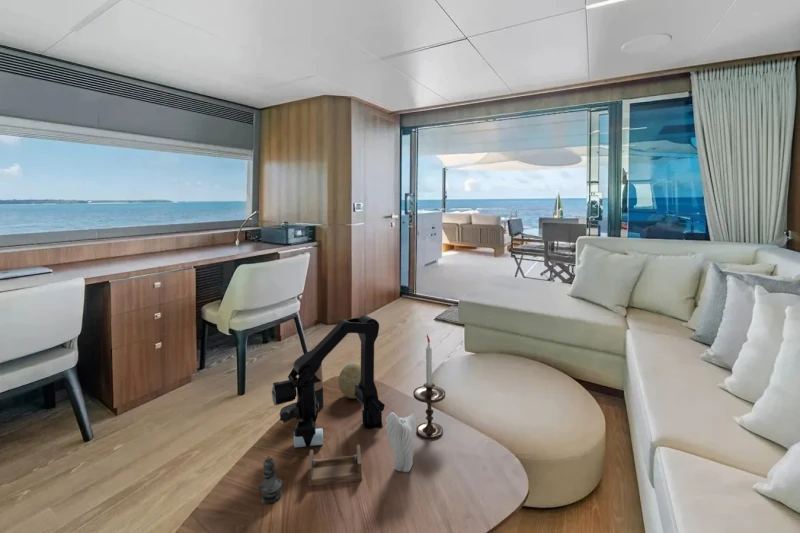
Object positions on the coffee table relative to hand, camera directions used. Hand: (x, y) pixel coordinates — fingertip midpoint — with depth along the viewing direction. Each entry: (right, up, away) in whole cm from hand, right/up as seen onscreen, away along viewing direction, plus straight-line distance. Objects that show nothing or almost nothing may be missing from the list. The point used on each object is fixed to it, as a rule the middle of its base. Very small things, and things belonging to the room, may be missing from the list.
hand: (308, 440), depth 127 cm
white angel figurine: (+31, -3, -12) cm, 34 cm away
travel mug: (-4, +2, +25) cm, 25 cm away
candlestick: (+41, 0, +6) cm, 41 cm away
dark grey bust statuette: (-4, -5, -23) cm, 24 cm away
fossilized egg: (+11, +3, +33) cm, 35 cm away
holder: (+11, -3, -14) cm, 18 cm away
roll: (0, -1, 0) cm, 1 cm away
